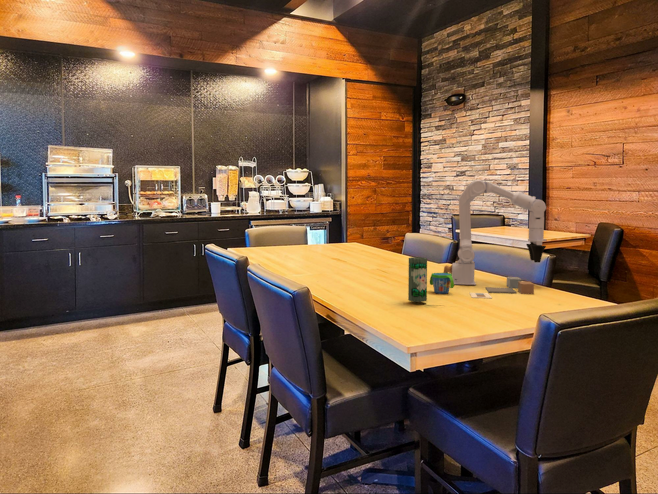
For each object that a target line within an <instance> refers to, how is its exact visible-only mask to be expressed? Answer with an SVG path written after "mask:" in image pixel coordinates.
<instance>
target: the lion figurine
mask: <svg viewBox="0 0 658 494" xmlns="http://www.w3.org/2000/svg"><path fill="white" fill-rule="evenodd" d="M442 273H450V274H452V264H451V265H450V266H449V265H448V264H447V265H445V266H443V272H442Z"/></svg>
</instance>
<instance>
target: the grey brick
mask: <svg viewBox="0 0 658 494" xmlns="http://www.w3.org/2000/svg"><path fill="white" fill-rule="evenodd" d="M518 281H523V279H522V278H521V277H519V276H507V277H506V288H512V289H513V290H518Z"/></svg>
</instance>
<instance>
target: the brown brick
mask: <svg viewBox="0 0 658 494" xmlns="http://www.w3.org/2000/svg"><path fill="white" fill-rule="evenodd" d="M517 292H519V294H521V295H535V283H534V282H531V281H523V280H522V281H518V289H517Z"/></svg>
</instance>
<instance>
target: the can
mask: <svg viewBox="0 0 658 494" xmlns="http://www.w3.org/2000/svg"><path fill="white" fill-rule="evenodd" d="M407 285H408V291H407V293H408V296H407V297H408V301H410V302H415V303H423V302H424V303H425V302H426V301H427V299H428V298H427V297H428V258H427V257H419V256H417V257H416V256H415V257H414V256H413V257H408V284H407Z"/></svg>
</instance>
